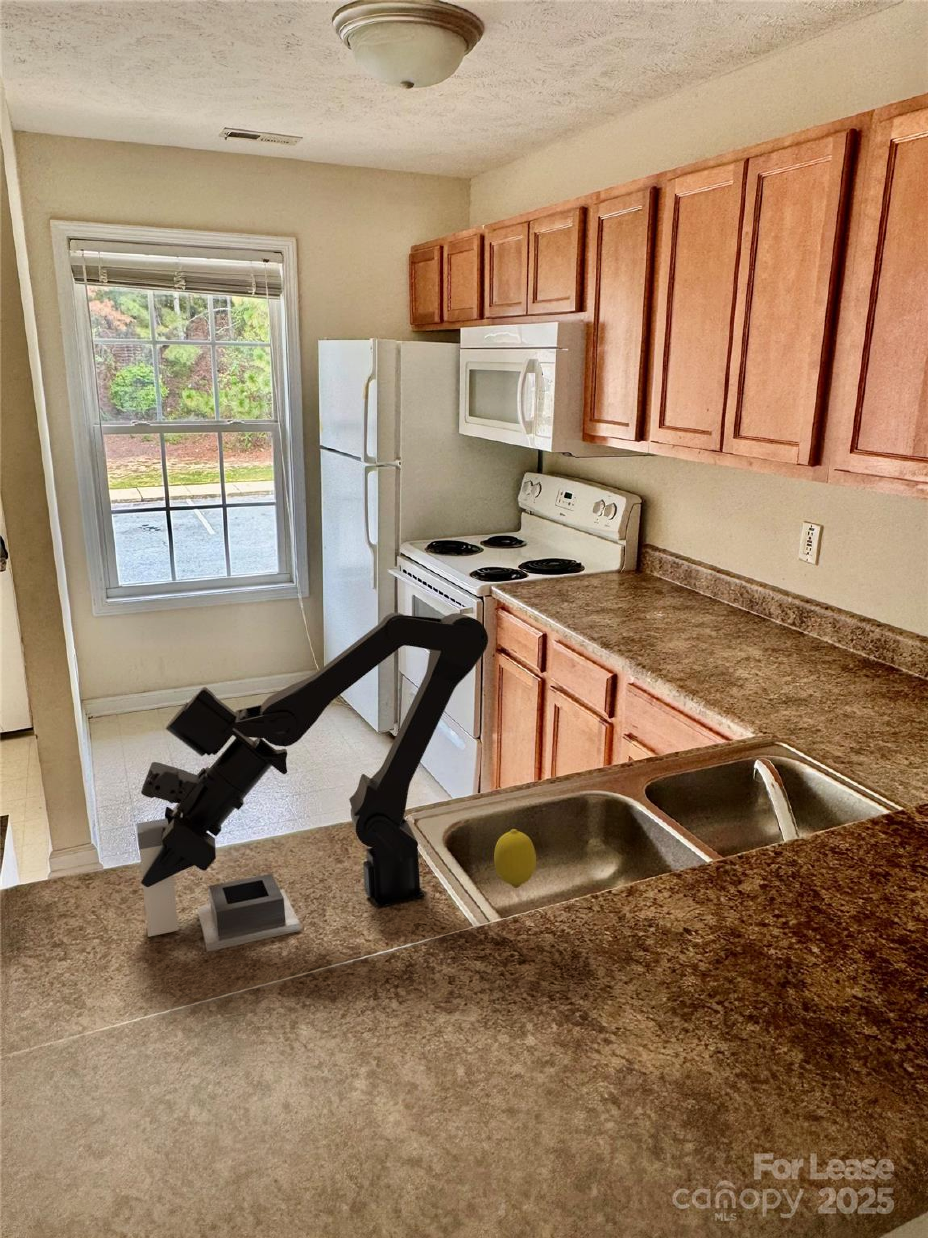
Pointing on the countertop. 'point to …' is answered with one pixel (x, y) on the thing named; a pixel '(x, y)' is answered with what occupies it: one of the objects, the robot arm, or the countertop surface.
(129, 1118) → the countertop surface
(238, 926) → the socket plate
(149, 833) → the plug block
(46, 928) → the countertop surface
